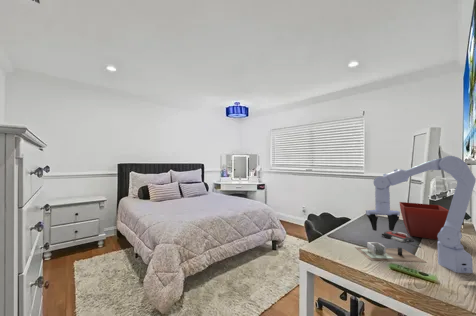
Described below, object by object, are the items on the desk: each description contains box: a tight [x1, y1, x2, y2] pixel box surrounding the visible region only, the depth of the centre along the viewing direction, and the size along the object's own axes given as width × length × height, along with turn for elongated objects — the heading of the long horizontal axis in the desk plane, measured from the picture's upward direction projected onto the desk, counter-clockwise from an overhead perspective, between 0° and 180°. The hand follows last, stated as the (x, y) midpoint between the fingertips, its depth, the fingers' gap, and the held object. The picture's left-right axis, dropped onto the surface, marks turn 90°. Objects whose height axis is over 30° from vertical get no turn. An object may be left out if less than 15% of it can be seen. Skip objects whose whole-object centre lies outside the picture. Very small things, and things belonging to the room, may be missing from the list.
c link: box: [366, 241, 387, 256], centre depth 94 cm, size 5×5×4 cm
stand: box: [354, 246, 428, 264], centre depth 94 cm, size 14×22×4 cm, turn 86°
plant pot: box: [399, 201, 449, 241], centre depth 123 cm, size 19×19×17 cm
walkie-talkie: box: [381, 230, 422, 249], centre depth 112 cm, size 9×4×20 cm
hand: (382, 230), depth 101 cm, fingers open, 7 cm apart
